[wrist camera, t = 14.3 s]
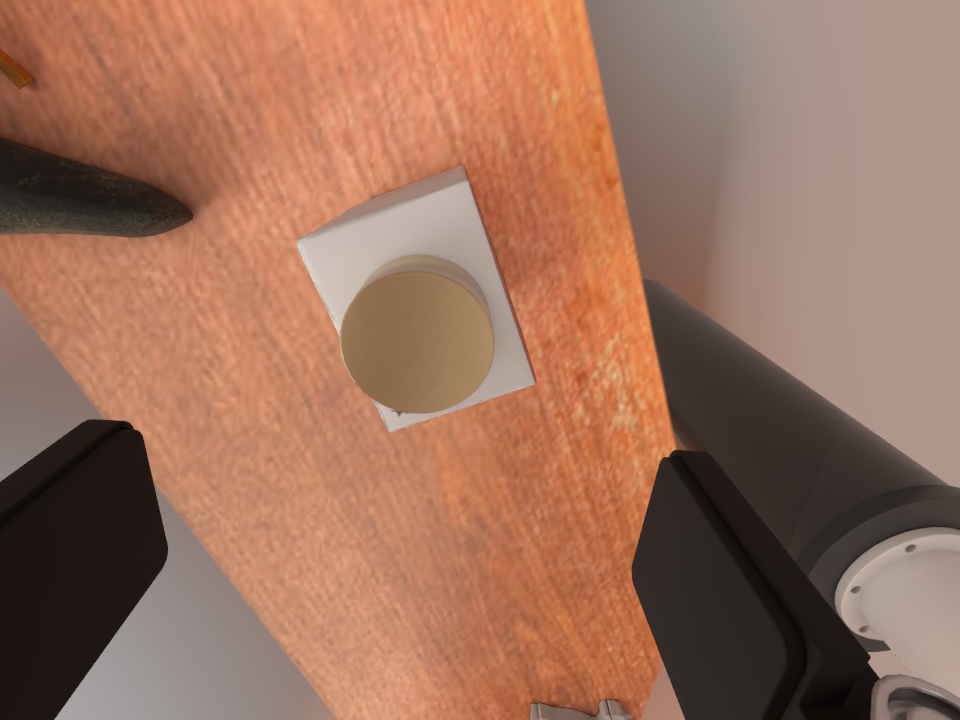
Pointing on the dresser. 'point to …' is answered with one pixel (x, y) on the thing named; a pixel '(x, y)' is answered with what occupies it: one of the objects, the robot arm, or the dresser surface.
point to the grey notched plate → (609, 715)
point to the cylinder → (418, 335)
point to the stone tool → (78, 198)
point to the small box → (420, 231)
